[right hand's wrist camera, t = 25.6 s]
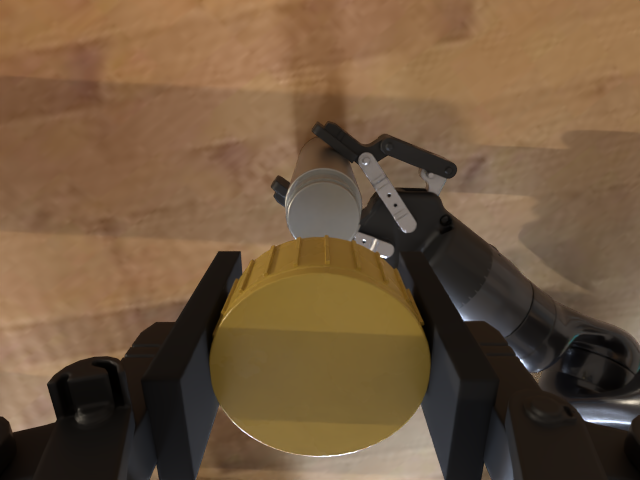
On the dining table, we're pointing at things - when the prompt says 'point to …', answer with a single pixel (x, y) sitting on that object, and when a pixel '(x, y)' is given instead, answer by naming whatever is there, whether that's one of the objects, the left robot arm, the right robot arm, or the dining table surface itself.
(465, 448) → the right robot arm
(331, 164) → the jar
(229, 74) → the dining table surface
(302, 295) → the lid
